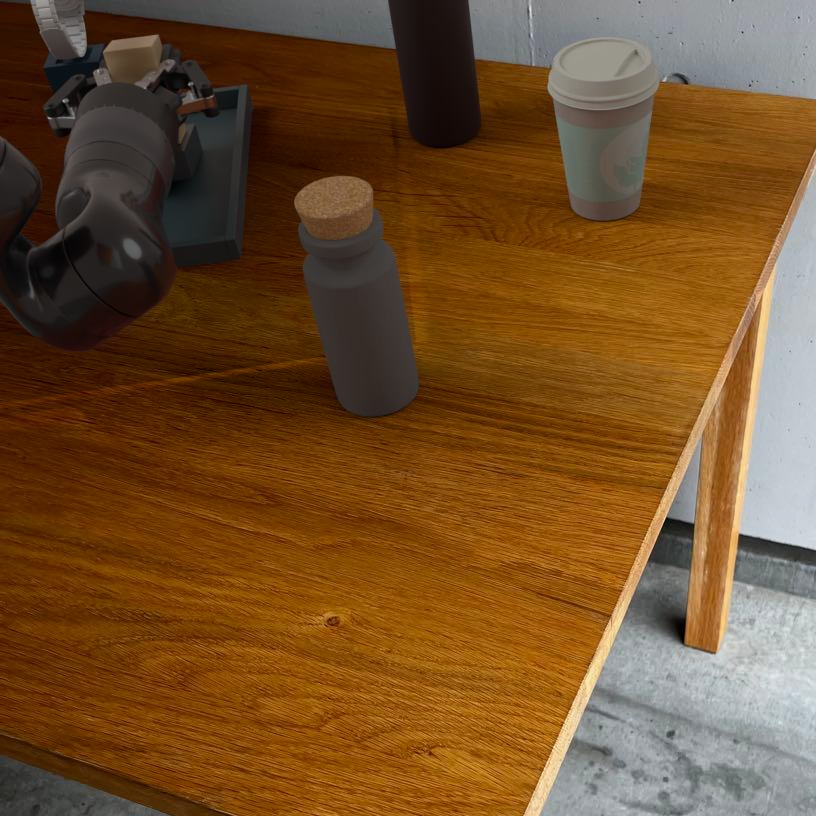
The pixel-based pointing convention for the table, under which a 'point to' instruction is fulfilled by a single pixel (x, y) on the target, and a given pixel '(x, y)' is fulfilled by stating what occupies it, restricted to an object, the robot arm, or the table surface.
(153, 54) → the stamp
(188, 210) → the tray
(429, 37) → the vinegar
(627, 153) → the coffee cup
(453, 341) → the table surface
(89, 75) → the watch
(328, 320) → the bottle
